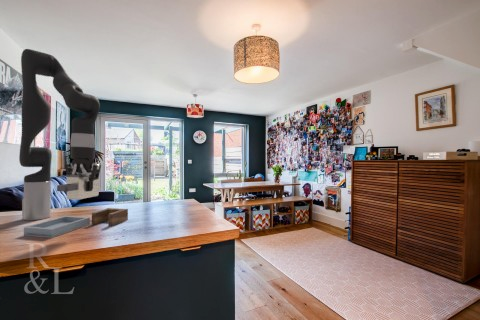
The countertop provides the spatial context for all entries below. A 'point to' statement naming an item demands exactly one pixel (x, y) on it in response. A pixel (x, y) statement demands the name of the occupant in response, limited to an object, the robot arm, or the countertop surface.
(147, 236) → the countertop surface
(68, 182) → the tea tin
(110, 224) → the cubby
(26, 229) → the tray
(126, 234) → the countertop surface
